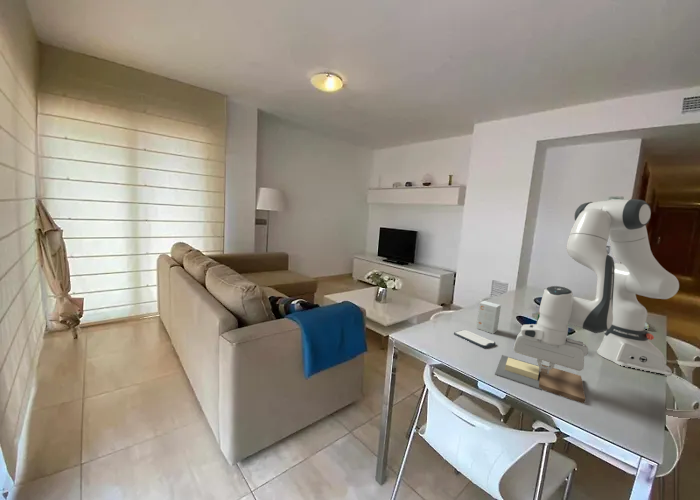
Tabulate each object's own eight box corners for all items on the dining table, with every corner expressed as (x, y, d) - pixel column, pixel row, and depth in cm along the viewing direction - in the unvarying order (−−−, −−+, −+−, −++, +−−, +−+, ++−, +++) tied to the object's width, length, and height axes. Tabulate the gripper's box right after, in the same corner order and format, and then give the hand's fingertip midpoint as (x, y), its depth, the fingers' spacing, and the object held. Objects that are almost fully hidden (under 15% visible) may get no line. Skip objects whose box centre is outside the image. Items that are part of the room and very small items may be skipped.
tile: (538, 371, 109) (539, 366, 109) (537, 380, 103) (538, 374, 103) (507, 362, 115) (508, 357, 114) (504, 369, 109) (505, 364, 109)
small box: (497, 330, 147) (501, 304, 145) (492, 334, 143) (497, 307, 141) (480, 325, 153) (484, 300, 151) (475, 328, 148) (479, 302, 146)
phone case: (452, 335, 139) (484, 350, 126) (452, 332, 139) (484, 346, 125) (464, 332, 144) (496, 346, 130) (465, 329, 144) (497, 342, 130)
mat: (543, 368, 113) (543, 367, 113) (542, 390, 98) (542, 389, 98) (501, 355, 121) (502, 354, 121) (494, 374, 106) (495, 373, 106)
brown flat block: (580, 379, 107) (581, 375, 107) (584, 403, 93) (585, 399, 92) (540, 367, 113) (540, 364, 113) (538, 388, 99) (539, 384, 99)
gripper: (588, 340, 100) (580, 379, 102) (518, 323, 111) (512, 359, 113) (590, 347, 95) (581, 388, 97) (516, 328, 106) (510, 365, 108)
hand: (543, 372), depth 105 cm, fingers closed
